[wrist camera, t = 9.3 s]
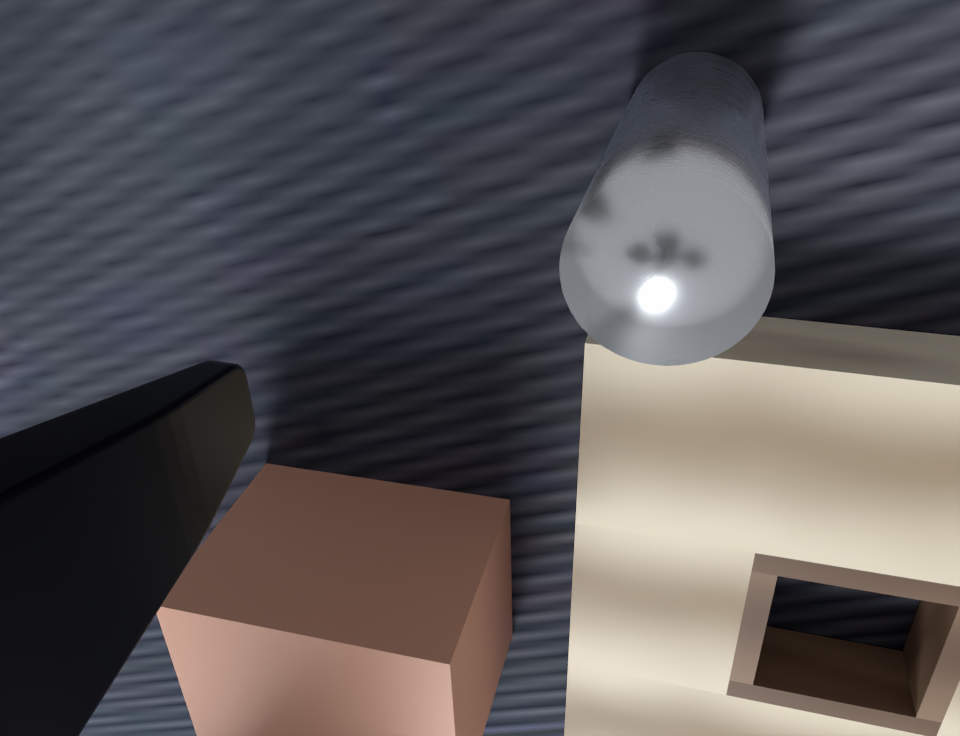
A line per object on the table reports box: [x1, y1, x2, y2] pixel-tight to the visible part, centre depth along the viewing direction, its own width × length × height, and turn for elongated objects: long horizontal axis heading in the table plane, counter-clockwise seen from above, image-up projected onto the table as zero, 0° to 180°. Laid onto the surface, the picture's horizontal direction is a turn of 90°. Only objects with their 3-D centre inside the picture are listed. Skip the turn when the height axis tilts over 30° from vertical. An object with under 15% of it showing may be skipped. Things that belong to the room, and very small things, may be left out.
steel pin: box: [559, 52, 775, 366], centre depth 16 cm, size 3×3×9 cm
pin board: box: [564, 316, 960, 736], centre depth 25 cm, size 18×16×2 cm
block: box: [157, 463, 513, 736], centre depth 28 cm, size 6×9×7 cm
